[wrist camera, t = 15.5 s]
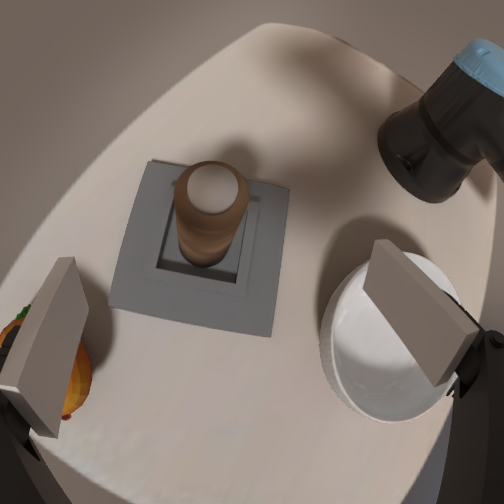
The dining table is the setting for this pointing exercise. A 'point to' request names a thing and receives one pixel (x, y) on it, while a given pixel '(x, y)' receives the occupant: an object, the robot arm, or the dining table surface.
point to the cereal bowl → (375, 353)
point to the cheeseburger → (79, 374)
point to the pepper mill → (208, 211)
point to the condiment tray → (196, 278)
